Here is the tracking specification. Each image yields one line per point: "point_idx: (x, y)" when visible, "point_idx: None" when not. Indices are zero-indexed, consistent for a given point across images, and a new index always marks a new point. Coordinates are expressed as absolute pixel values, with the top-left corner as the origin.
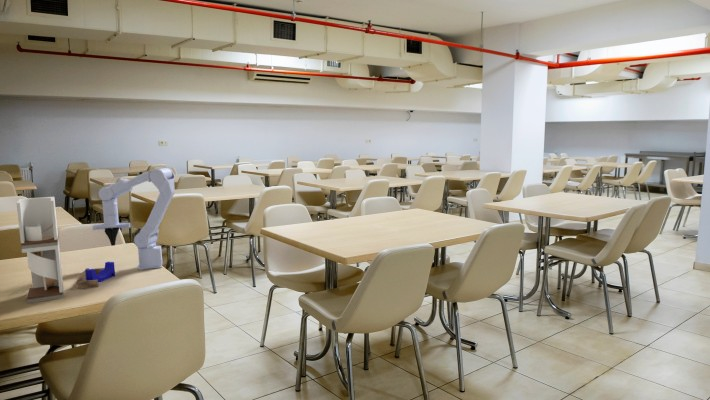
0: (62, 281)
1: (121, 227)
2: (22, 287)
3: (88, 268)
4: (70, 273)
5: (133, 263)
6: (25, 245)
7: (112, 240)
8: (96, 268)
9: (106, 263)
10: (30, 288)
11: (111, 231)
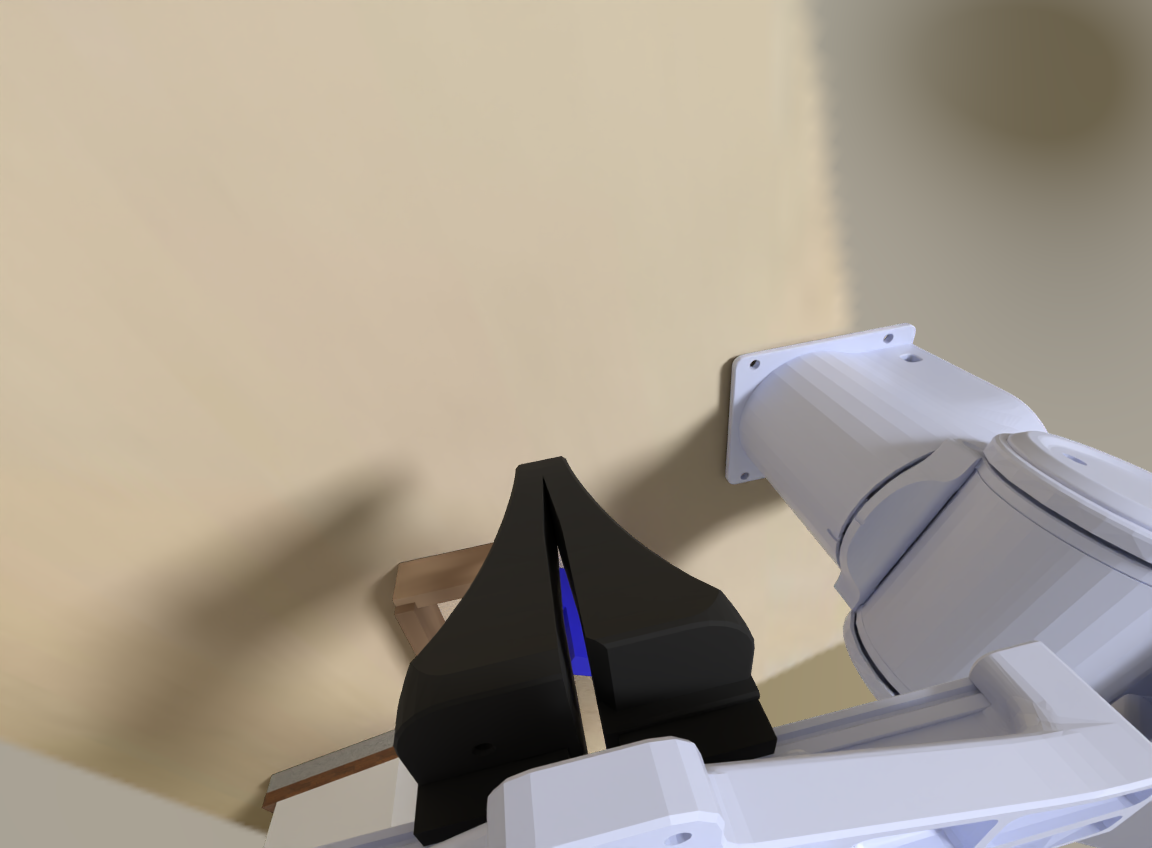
0: (414, 793)
1: (834, 746)
2: (123, 731)
3: (415, 615)
4: (217, 522)
5: (673, 281)
6: None
7: (555, 558)
8: (464, 584)
9: (573, 668)
10: (271, 808)
11: (579, 722)
